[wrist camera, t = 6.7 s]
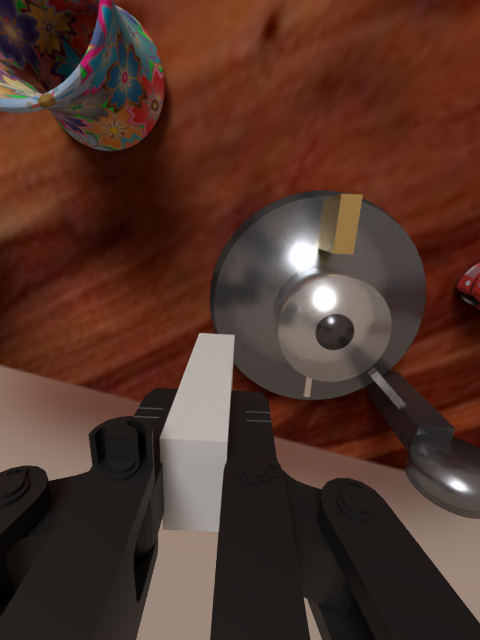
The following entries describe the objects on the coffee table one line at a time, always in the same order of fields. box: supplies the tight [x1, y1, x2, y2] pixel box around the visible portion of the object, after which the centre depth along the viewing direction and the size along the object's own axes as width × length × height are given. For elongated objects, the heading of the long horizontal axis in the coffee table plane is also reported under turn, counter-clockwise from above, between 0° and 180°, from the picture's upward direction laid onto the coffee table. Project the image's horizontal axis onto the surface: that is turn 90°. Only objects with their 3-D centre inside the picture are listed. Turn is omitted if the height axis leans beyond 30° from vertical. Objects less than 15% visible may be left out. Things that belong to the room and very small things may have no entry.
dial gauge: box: [367, 368, 480, 519], centre depth 22 cm, size 6×5×13 cm
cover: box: [273, 266, 392, 382], centre depth 21 cm, size 7×7×5 cm
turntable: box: [214, 194, 426, 400], centre depth 22 cm, size 16×16×6 cm
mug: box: [0, 0, 165, 151], centre depth 16 cm, size 12×9×11 cm
